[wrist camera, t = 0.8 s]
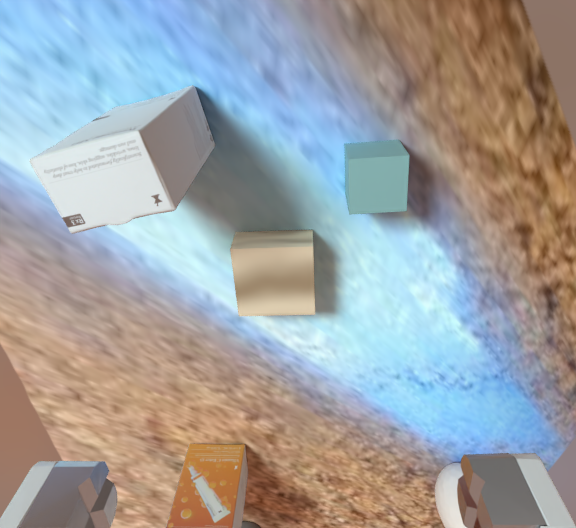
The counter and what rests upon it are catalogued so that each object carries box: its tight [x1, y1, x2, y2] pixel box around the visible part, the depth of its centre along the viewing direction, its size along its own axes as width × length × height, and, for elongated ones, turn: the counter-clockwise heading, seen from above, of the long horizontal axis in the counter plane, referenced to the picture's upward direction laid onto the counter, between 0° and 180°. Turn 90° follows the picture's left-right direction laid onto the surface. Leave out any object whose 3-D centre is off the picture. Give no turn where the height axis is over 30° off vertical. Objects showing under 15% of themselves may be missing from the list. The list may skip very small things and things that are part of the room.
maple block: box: [230, 230, 315, 316], centre depth 48 cm, size 8×8×4 cm
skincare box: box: [30, 85, 215, 234], centre depth 36 cm, size 8×6×15 cm
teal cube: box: [344, 140, 409, 214], centre depth 42 cm, size 5×5×5 cm
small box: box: [166, 444, 248, 528], centre depth 60 cm, size 8×6×13 cm
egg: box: [435, 463, 467, 528], centre depth 59 cm, size 7×7×12 cm
